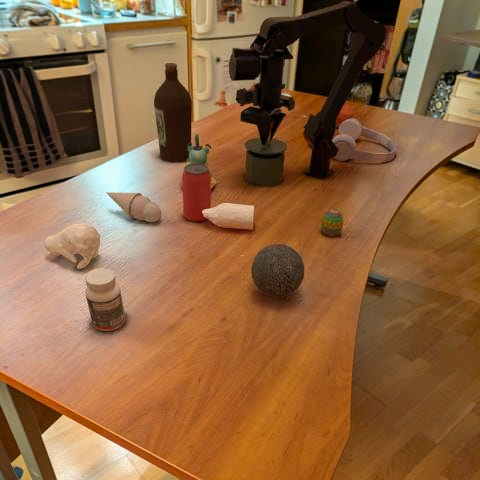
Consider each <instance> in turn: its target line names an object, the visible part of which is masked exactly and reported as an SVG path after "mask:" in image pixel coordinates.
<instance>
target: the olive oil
mask: <svg viewBox="0 0 480 480" xmlns="http://www.w3.org/2000/svg"><path fill="white" fill-rule="evenodd" d="M164 68H165V69H164V75H165V79H164V81H163V83H161V85H160V86H159V87H158V89H157V90H156V92H155V94H154V98H153V108H154V114H155V115H154V116H155V122H156V132H157V137H158V138H157V139H158V148H159V156H160V158H161V159H162V160H164V161H166V162H171V163H180V162H186V160H187V159H188V158H189V153H190V152H188V147H189V146H192V145H189V146H188V147H187V144H188V143H192V119H193V118H192V116H193V101H192V96H191V94H190V92H189V91H188V89H186V87H185V86H184V85H183V83H181V81H180V79H179V72H178V64H177V63H174V62H168V63H165V64H164ZM188 160H189V159H188Z"/></svg>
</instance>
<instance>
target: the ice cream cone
mask: <svg viewBox="0 0 480 480" xmlns="http://www.w3.org/2000/svg"><path fill="white" fill-rule="evenodd" d="M105 193H106V194H107V196H109V198H110V199H111V200H113V202H114V203H115V204H116V205H117V206H118V207H119V208H120V209H121V210H122V211H123V212H124V213H125V214H126V215H127V216H128V217H129V218H130V219H136V220H139V221H145V222H148V223H156V222H157V221H158V220H160V218H161V215H162V210H161V207H160V206H159V205H158V204H157V203H155V202H152V201H151V199H150V198H149V197H147V196H145V195H143V194H142V193H141V192H105Z"/></svg>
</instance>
